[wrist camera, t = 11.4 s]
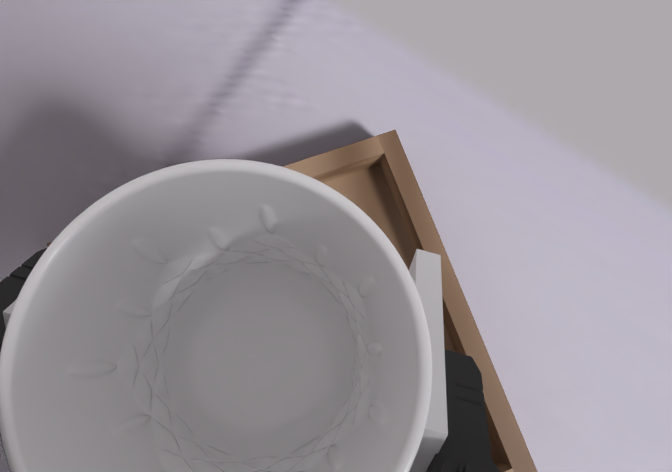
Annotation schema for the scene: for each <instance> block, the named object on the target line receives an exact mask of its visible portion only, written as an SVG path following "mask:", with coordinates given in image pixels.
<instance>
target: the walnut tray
mask: <svg viewBox="0 0 672 472" xmlns="http://www.w3.org/2000/svg"><path fill="white" fill-rule="evenodd" d="M283 167H285V168H288V169H291V170H294V171H297V172H300V173H302V174H305V175H307V176H309V177H312V178H314V179H316V180H318V181H320V182H322V183H324V184H326V185H327V186H329V187H331V188H332V189H334V190H336V191H337V192H339V193H340V194H342V195H343V196H345V197H346V198H347V199H349V200H350V201H351V202H353V203H354V204H355V205H356V206H358V207H359V208H360V209H361V210H362V211H363V212H364V213H366V214H367V215H368V216H369V217H370V218H371V219H372V220H373V221H374V222H375V223H376V225H377V226H378V227H379V228H380V229H381V230H382V231H383V233H384V234H385V235H386V236H387V238H388V239H389V240H390V241H391V243H392V244H393V246H394V247H395V249H396V250H397V252H398V253H399V255H400V256H401V258H402V260H403V261H404V263H405V265H406V267H407V269H408V271H409V268H410V266H411V263H412V260H413V257H414V255H415V252H416V249H420V250H424V251H427V252H431V253H435V254H438V255H441V278H442V302H443V326H444V349H446V350H449V351H453V352H457V353H460V354H464V355H468V356H471V357H472V358H473V359H474V361H475V363H476V365H477V367H478V368H479V370H480V372H481V375H482V383H483V393H484V399H485V405H484V407H486V416H487V424H488V432H489V440H490V448H491V456H492V460H493V463H494V464H495V465H496V466H497V468H498V469H499V470H500V472H537V470H536V467H535V465H534V463H533V460H532V458H531V455H530V453H529V451H528V448H527V446H526V443H525V441H524V438H523V436H522V434H521V431H520V429H519V426H518V424H517V422H516V419H515V417H514V414H513V412H512V410H511V407H510V405H509V402H508V400H507V398H506V395H505V393H504V390H503V388H502V386H501V383H500V381H499V378H498V376H497V373H496V371H495V369H494V366H493V364H492V361H491V359H490V357H489V354H488V352H487V349H486V347H485V345H484V342H483V340H482V337H481V335H480V333H479V330H478V328H477V325H476V323H475V320H474V318H473V316H472V313H471V311H470V308H469V306H468V304H467V301H466V299H465V296H464V294H463V292H462V289H461V287H460V284H459V282H458V280H457V277H456V275H455V272H454V270H453V268H452V265H451V263H450V260H449V258H448V255H447V253H446V251H445V248H444V246H443V243H442V241H441V239H440V236H439V234H438V231H437V229H436V227H435V224H434V222H433V219H432V217H431V215H430V212H429V210H428V207H427V205H426V202H425V200H424V198H423V195H422V193H421V190H420V188H419V186H418V183H417V181H416V178H415V176H414V174H413V171H412V169H411V166H410V164H409V162H408V159H407V157H406V154H405V152H404V150H403V147H402V145H401V142H400V140H399V137H398V135H397V133H396V130H393V131H390V132H387V133H384V134H380V135H377V136H374V137H371V138H368V139H365V140H362V141H359V142H356V143H353V144H350V145H347V146H344V147H341V148H338V149H335V150H332V151H329V152H326V153H322V154H319V155H316V156H313V157H310V158H307V159H304V160H301V161H298V162H295V163H292V164H289V165H286V166H283ZM51 243H52V242H51ZM51 243H48V244H47V245H48V247H49V245H50V244H51Z"/></svg>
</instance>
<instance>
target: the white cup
mask: <svg viewBox="0 0 672 472" xmlns="http://www.w3.org/2000/svg"><path fill="white" fill-rule="evenodd" d="M431 390H432V352H431V342H430V335H429V329H428V324H427V320H426V316H425V312H424V308H423V305H422V302H421V299H420V296H419V293H418V291H417V288H416V286H415V283H414V281H413V279H412V277H411V275H410V273H409V271H408V269H407V267H406V265H405V263H404V261H403V260H402V258H401V256H400V255H399V253H398V252H397V250H396V249H395V247H394V246H393V244H392V243H391V241H390V240H389V239H388V238H387V236H386V235H385V234H384V233H383V231H382V230H381V229H380V228H379V227H378V226H377V225H376V223H375V222H374V221H373V220H372V219H371V218H370V217H369V216H368V215H367V214H366V213H364V212H363V211H362V210H361V209H360V208H359V207H358V206H356V205H355V204H354V203H353V202H351V201H350V200H349V199H347V198H346V197H345V196H343V195H342V194H340V193H339V192H337V191H336V190H334V189H332V188H331V187H329V186H327V185H326V184H324V183H322V182H320V181H318V180H316V179H314V178H312V177H309V176H307V175H305V174H302V173H300V172H297V171H294V170H291V169H288V168H285V167H281V166H278V165H273V164H269V163H264V162H258V161H251V160H240V159H211V160H201V161H193V162H187V163H182V164H178V165H174V166H170V167H166V168H163V169H159V170H156V171H154V172H151V173H148V174H145V175H143V176H141V177H138V178H136V179H134V180H132V181H130V182H128V183H126V184H124V185H122V186H120V187H118V188H116V189H115V190H113V191H111V192H110V193H108V194H106V195H105V196H103V197H102V198H100V199H99V200H98V201H96V202H95V203H93V204H92V205H91V206H89V207H88V208H87V209H86V210H84V211H83V212H82V213H81V214H80V215H78V216H77V217H76V218H75V219H74V220H73V221H72V222H71V223H70V224H69V225H68V226H67V227H66V228H65V229H64V230H63V231H62V232H61V233H60V234H59V235H58V236H57V237H56V238H55V239H54V241H53V242H52V243H51V244H50V245H49V247H48V248H47V249H46V251H45V252H44V253H43V255H42V256H41V257H40V259H39V260H38V262H37V263H36V265H35V266H34V268H33V269H32V271H31V273H30V274H29V276H28V278H27V280H26V281H25V283H24V285H23V287H22V289H21V291H20V293H19V295H18V298H17V300H16V302H15V305H14V307H13V310H12V312H11V315H10V318H9V321H8V324H7V327H6V331H5V334H4V338H3V342H2V347H1V352H0V436H1V441H2V445H3V449H4V453H5V456H6V460H7V463H8V466H9V469H10V472H409V471H410V469H411V466H412V464H413V462H414V459H415V457H416V454H417V452H418V449H419V446H420V443H421V440H422V437H423V433H424V430H425V426H426V422H427V417H428V412H429V406H430V399H431Z"/></svg>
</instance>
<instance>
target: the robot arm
mask: <svg viewBox="0 0 672 472" xmlns="http://www.w3.org/2000/svg"><path fill="white" fill-rule="evenodd" d="M46 249H47V248H46ZM46 249H44V250H41V251H39V252H36V253H35V254H34V255H33V256H32V257H30V258H29V259H28V260H27V261H26V262H24V263H23V264H22V266H21V267H18V268H17V269H16V270H15V271H13V272H12V273H11V274H10V276H9V277H6V278H5V279H4V280H3V281H1V282H0V352H1V347H2V342H3V338H4V334H5V331H6V327H7V324H8V321H9V318H10V315H11V312H12V310H13V307H14V305H15V302H16V300H17V298H18V295H19V293H20V291H21V289H22V287H23V285H24V283H25V281H26V280H27V278H28V276H29V274H30V273H31V271H32V269H33V268H34V266H35V265H36V263H37V262H38V260H39V259H40V257H41V256H42V255H43V253H44V252H45V251H46ZM409 273H410V275H411V277H412V279H413V281H414V283H415V286H416V288H417V291H418V293H419V296H420V299H421V302H422V305H423V308H424V312H425V316H426V320H427V324H428V329H429V335H430V342H431V352H432V390H431V399H430V406H429V412H428V417H427V422H426V426H425V430H424V433H423V437H422V440H421V443H420V446H419V449H418V452H417V454H416V457H415V459H414V462H413V464H412V466H411V469H410V471H409V472H500V470H499V469H498V468H497V466H496V465H495V464H494V463H493V460H492V456H491V448H490V440H489V432H488V424H487V416H486V407H484V405H485V399H484V393H483V383H482V375H481V372H480V370H479V368H478V367H477V365H476V363H475V361H474V359H473V358H472V357H471V356H468V355H464V354H460V353H457V352H453V351H449V350H446V349H444V326H443V302H442V278H441V255H438V254H435V253H431V252H427V251H424V250H420V249H416V252H415V255H414V257H413V260H412V263H411V266H410V268H409Z"/></svg>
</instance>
